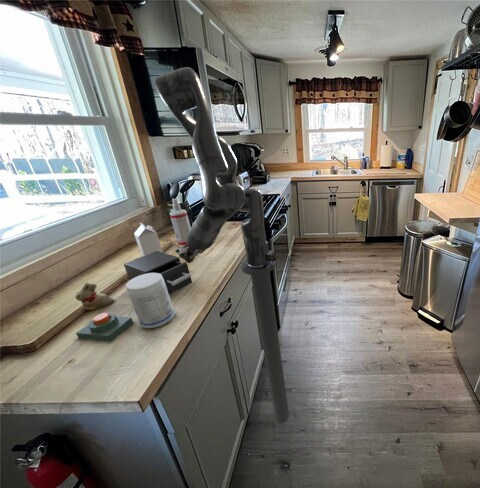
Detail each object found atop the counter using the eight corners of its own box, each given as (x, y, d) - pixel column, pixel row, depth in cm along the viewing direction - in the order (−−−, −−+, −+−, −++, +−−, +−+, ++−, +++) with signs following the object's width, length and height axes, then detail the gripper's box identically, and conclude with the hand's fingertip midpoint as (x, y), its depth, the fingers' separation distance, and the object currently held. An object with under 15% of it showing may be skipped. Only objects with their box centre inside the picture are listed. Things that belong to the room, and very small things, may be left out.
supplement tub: (139, 318, 83) (123, 279, 78) (171, 306, 89) (159, 268, 83) (143, 334, 77) (126, 293, 71) (178, 320, 82) (165, 280, 76)
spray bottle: (178, 248, 136) (164, 201, 126) (179, 243, 142) (166, 198, 132) (194, 245, 138) (182, 199, 128) (194, 240, 145) (183, 196, 135)
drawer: (199, 284, 99) (194, 264, 96) (171, 300, 90) (164, 279, 87) (171, 275, 107) (165, 256, 104) (142, 288, 98) (135, 268, 95)
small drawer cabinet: (185, 280, 104) (179, 257, 100) (154, 297, 94) (145, 271, 90) (164, 273, 111) (156, 250, 107) (132, 287, 101) (123, 263, 97)
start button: (113, 317, 79) (111, 313, 78) (102, 325, 75) (100, 321, 75) (103, 316, 79) (100, 312, 78) (91, 324, 76) (89, 320, 75)
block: (133, 323, 82) (129, 312, 80) (111, 341, 74) (106, 330, 73) (103, 320, 83) (98, 310, 82) (78, 338, 76) (72, 328, 74)
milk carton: (148, 268, 116) (135, 228, 108) (144, 263, 120) (130, 224, 113) (166, 262, 120) (154, 223, 113) (161, 258, 125) (149, 220, 117)
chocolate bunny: (92, 301, 93) (81, 277, 89) (115, 300, 94) (105, 276, 90) (80, 311, 88) (67, 286, 84) (104, 309, 88) (93, 284, 84)
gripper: (214, 216, 83) (198, 245, 94) (176, 229, 73) (162, 259, 83) (229, 234, 83) (211, 260, 93) (192, 249, 72) (177, 277, 83)
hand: (188, 260), depth 88 cm, fingers closed
